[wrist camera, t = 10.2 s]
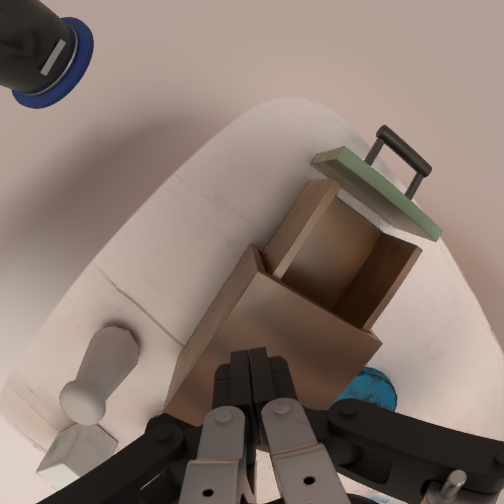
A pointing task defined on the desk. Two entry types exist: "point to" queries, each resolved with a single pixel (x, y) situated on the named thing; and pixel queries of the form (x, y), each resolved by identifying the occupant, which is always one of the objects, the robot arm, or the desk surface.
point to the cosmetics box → (75, 454)
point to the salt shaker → (99, 375)
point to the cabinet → (268, 342)
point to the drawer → (351, 234)
